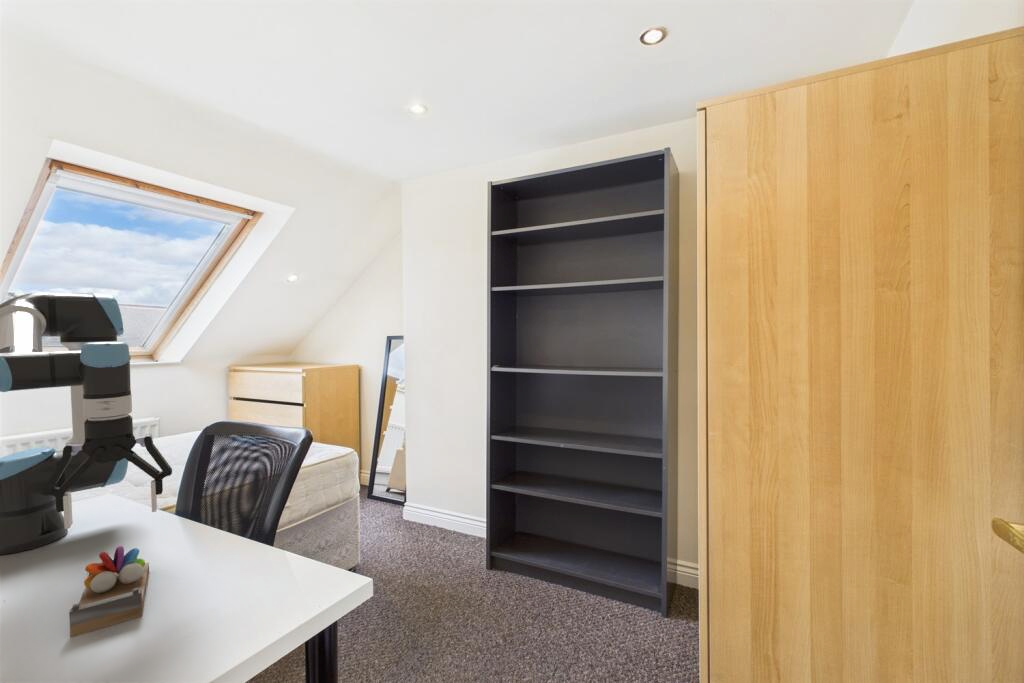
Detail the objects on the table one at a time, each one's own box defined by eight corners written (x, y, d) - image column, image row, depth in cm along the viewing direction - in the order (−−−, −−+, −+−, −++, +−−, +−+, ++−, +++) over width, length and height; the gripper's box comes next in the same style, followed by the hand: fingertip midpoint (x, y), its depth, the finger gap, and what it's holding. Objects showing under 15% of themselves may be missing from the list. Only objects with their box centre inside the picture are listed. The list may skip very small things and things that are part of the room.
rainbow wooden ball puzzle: (82, 584, 96) (80, 550, 95) (141, 566, 103) (140, 534, 102) (86, 600, 90) (84, 564, 90) (149, 580, 97) (147, 546, 97)
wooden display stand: (89, 585, 99) (88, 562, 98) (149, 570, 104) (148, 548, 104) (70, 637, 82) (68, 608, 82) (142, 616, 88) (140, 589, 88)
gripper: (16, 428, 85) (22, 541, 86) (182, 412, 99) (186, 509, 100) (28, 421, 91) (33, 526, 92) (183, 407, 105) (186, 498, 106)
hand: (113, 517), depth 96 cm, fingers open, 13 cm apart
